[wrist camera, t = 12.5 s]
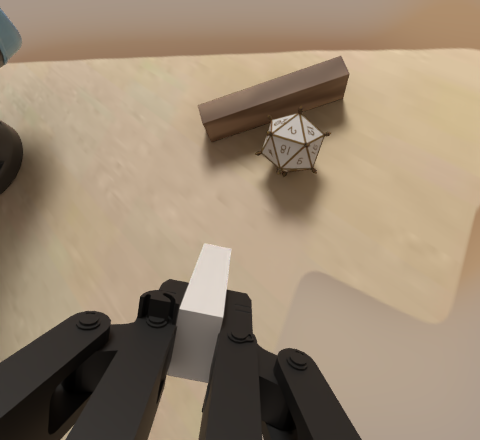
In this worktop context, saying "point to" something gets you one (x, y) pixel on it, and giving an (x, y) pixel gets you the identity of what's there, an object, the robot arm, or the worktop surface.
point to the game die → (292, 143)
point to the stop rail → (274, 99)
